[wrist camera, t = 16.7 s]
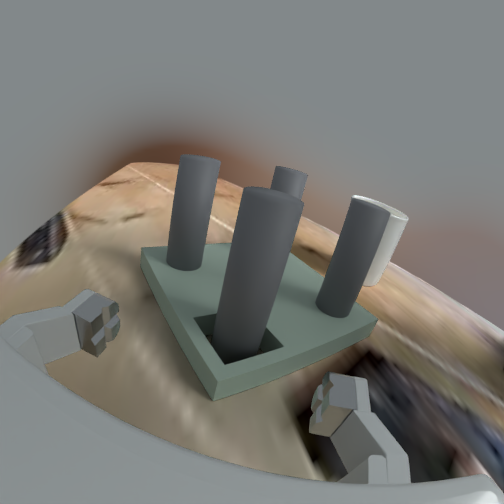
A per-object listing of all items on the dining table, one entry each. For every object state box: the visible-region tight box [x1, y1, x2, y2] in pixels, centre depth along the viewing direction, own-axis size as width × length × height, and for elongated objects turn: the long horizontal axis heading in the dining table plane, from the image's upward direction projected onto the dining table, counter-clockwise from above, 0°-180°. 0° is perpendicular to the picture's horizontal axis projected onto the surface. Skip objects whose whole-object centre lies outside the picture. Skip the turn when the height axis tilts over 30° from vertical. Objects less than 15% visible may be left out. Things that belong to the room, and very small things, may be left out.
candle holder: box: [351, 195, 409, 286], centre depth 43 cm, size 10×10×12 cm
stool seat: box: [140, 155, 391, 401], centre depth 29 cm, size 20×20×14 cm
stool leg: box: [211, 187, 304, 365], centre depth 21 cm, size 4×4×14 cm
